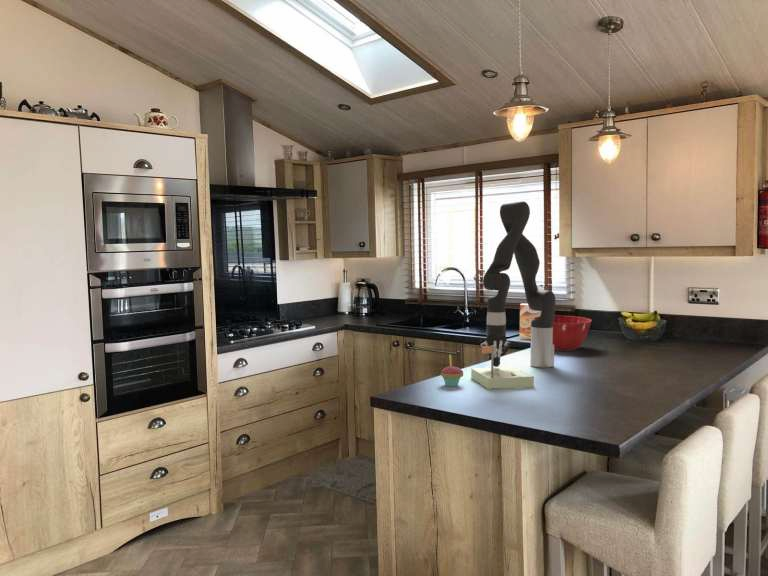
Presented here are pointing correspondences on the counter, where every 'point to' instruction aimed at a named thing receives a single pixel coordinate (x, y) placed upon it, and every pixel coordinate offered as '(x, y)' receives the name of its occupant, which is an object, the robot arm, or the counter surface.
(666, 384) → the counter surface
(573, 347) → the mixing bowl
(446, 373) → the cupcake
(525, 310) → the coffeecake box
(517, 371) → the board
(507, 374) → the ball
